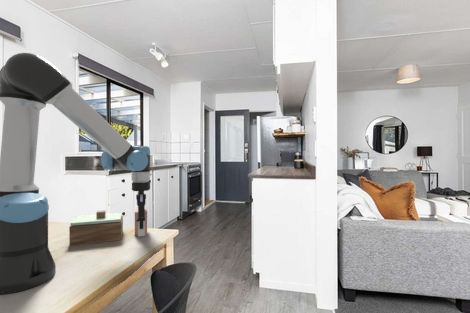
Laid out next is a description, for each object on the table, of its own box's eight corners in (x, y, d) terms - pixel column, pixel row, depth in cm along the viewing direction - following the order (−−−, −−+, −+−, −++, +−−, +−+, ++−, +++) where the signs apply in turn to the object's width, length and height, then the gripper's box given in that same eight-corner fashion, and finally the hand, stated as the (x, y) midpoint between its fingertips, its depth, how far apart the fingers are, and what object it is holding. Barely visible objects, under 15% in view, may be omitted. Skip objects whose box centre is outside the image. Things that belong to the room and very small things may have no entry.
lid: (120, 221, 103) (120, 213, 103) (70, 225, 97) (70, 216, 97) (122, 215, 114) (122, 207, 114) (77, 218, 107) (77, 210, 107)
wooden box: (121, 239, 103) (121, 222, 103) (69, 245, 96) (69, 226, 96) (122, 230, 114) (122, 215, 114) (76, 235, 108) (76, 218, 107)
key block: (147, 234, 110) (147, 211, 110) (134, 235, 108) (134, 212, 108) (146, 231, 115) (146, 208, 114) (134, 232, 113) (134, 209, 113)
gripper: (151, 184, 102) (151, 239, 103) (148, 178, 122) (149, 225, 123) (131, 184, 99) (131, 242, 100) (132, 179, 120) (132, 226, 120)
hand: (141, 232), depth 111 cm, fingers open, 9 cm apart
